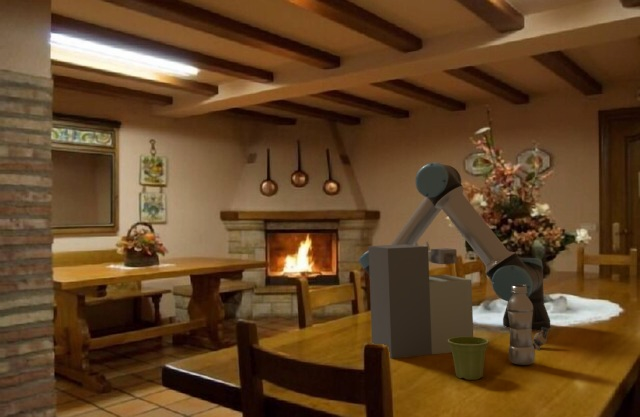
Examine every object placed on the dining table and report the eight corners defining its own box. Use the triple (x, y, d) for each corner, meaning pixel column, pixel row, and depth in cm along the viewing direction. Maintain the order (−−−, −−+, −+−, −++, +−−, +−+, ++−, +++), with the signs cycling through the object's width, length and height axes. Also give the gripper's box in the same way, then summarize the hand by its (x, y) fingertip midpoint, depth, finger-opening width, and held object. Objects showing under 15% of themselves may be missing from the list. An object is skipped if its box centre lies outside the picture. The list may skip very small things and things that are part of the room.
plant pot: (443, 372, 135) (442, 337, 135) (481, 370, 135) (479, 335, 136) (456, 383, 125) (455, 345, 125) (496, 381, 126) (494, 343, 126)
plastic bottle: (535, 361, 142) (532, 284, 142) (536, 368, 135) (533, 287, 136) (508, 360, 144) (505, 284, 144) (508, 367, 137) (505, 287, 138)
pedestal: (371, 345, 165) (368, 246, 165) (447, 338, 171) (444, 242, 172) (391, 358, 149) (387, 248, 150) (473, 350, 155) (470, 244, 156)
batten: (402, 257, 181) (401, 245, 181) (416, 256, 182) (415, 244, 182) (440, 264, 154) (440, 250, 154) (456, 263, 155) (456, 249, 155)
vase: (543, 345, 159) (543, 324, 159) (555, 350, 154) (555, 329, 154) (526, 346, 158) (527, 325, 158) (538, 352, 153) (538, 330, 152)
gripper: (422, 285, 191) (449, 255, 171) (379, 288, 187) (401, 257, 167) (417, 266, 195) (442, 234, 175) (374, 268, 191) (395, 236, 171)
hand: (422, 246), depth 171 cm, fingers closed on batten, 3 cm apart
